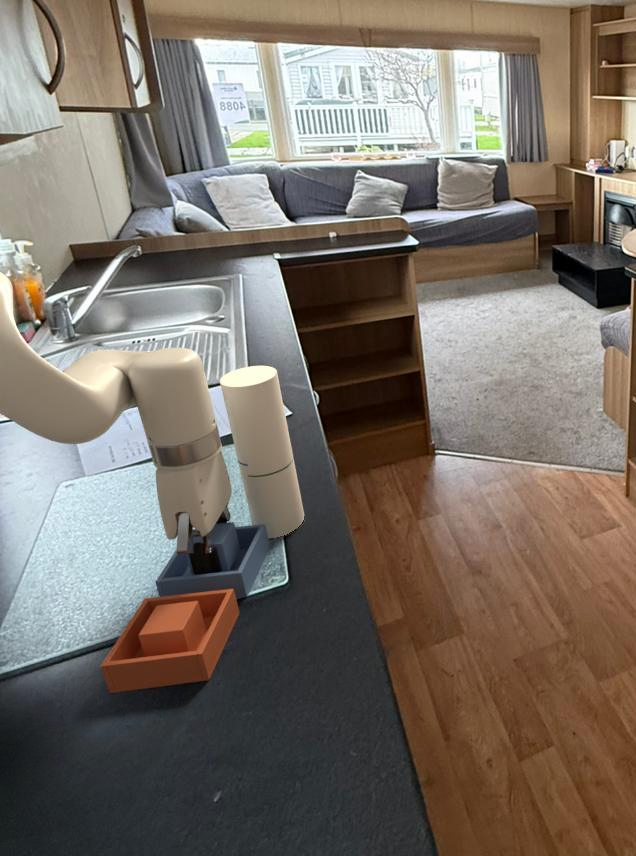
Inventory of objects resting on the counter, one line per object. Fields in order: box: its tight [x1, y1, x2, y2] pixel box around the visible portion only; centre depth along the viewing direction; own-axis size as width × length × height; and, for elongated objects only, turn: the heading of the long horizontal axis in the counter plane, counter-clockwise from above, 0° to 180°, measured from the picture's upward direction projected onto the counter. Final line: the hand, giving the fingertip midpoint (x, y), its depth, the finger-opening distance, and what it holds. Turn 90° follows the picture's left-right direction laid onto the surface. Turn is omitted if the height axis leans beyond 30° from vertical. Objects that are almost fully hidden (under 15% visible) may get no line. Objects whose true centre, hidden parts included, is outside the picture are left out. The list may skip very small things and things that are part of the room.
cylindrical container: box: [219, 365, 305, 539], centre depth 95 cm, size 7×7×25 cm
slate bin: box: [155, 524, 271, 599], centre depth 89 cm, size 10×10×4 cm
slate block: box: [186, 521, 240, 575], centre depth 88 cm, size 5×5×5 cm
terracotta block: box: [139, 601, 206, 657], centre depth 76 cm, size 5×5×5 cm
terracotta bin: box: [99, 589, 240, 694], centre depth 77 cm, size 10×10×4 cm
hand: (216, 559), depth 88 cm, fingers closed on slate block, 4 cm apart
